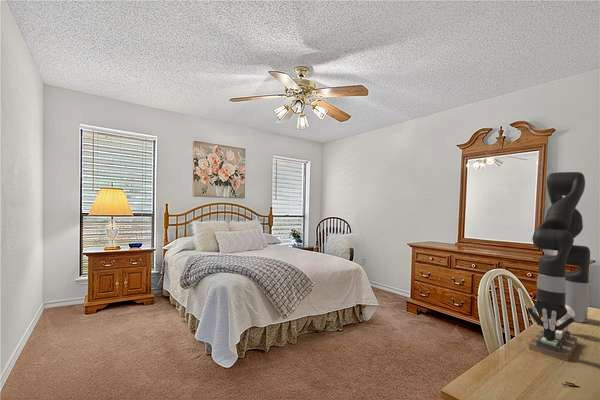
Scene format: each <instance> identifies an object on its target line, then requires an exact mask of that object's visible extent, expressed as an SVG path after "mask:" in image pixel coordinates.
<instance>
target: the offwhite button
mask: <svg viewBox="0 0 600 400" xmlns="http://www.w3.org/2000/svg"><path fill="white" fill-rule="evenodd" d="M562 337H563V331H559V330H556V336H555V338H556V339H560V340H561V338H562Z"/></svg>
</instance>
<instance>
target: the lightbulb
mask: <svg viewBox="0 0 600 400" xmlns="http://www.w3.org/2000/svg"><path fill="white" fill-rule="evenodd" d="M565 307H566V309H567V313H568V314H569V315H571V316H572V317H575V312H574V310H573V309H572V308H571V307H570V306H568V305H565ZM564 321H566V320H565V315H564V316H563V317H562V318H561V319H559V320H557V322H558V324H562V323H563V322H564ZM569 327H570V325H568V326H567V327H566V331H569Z"/></svg>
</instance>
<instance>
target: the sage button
mask: <svg viewBox="0 0 600 400" xmlns="http://www.w3.org/2000/svg"><path fill="white" fill-rule="evenodd" d="M541 342H543V343H546V344H550V345H553V346H556V347H557V346H558V341H557V340H553V341H552V342H551V341H548V340H546V338H544V337H542V339H541Z"/></svg>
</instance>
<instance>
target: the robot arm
mask: <svg viewBox="0 0 600 400" xmlns="http://www.w3.org/2000/svg"><path fill="white" fill-rule="evenodd" d="M585 186H586V178H585V175H584V174H583V172H580V171H565V172H564V171H561V172H552V173H551V172H550V173H549V174H548V175H547V178H546V189H547V193H548V196H549V197H548V198H549V200H550V204H551V205H550V207H549V208H548V209H547V211H546V214H545V218H544V219H543V220H544V221H542V223H541V224H540V225H539V226H538V227H537V228H536V229H535V231H533V234H532V242H533V243H532V244H533V245H534V246H535V247H536V248H537V249H540V250H548V251H557V254H555V255H553V256H551V255H550V256H542V257H541V256H540V257H539V259H538V269H537V272H538V273H537V274H538V275H537V277H536V301H535V303H534V305H533V306H529V307H527V308H526V311H527V312H528V314H529V315H530V316H531V318H532V319H533V320H534V322H535V323H536V324H537V325H538V326H541V327H542V329H544V338H546V340H548V341H551V342H552V341H553V340H555V336H556V330H559V331H561V330H562V329H564V328H565V327H567V326H568V325H569V326H570V325H571V324H572V323H574V322H576V323H582V322H585V323H588V321H589V319H588V317H589V316H588V315H589V283H590V282H589V274H590V273H589V272H590V263H591V262H590V261H591V250H590V248H589V247H588V246H586V245H585V246H584V245H578V244H576V245H575V244H574V242H575V238H576V237H577V236H578V235H580V234H581V232H582V231H583V229H584V224H583V222H584V221H583V216H582V214H581V212H580V211H579V210H578V209H577V205H578V204H579V202H580V200H581V198H582V196H583V194H584V191H585V189H586V187H585ZM563 196H564V197H563ZM567 265H568V266H575V267H578V269H576V270H573V271H566V269H567V268H566V266H567ZM565 305H568V306H570V307H571V308H572V309H573V310H574V312H575V317H572V316H571V315H569V314H568V313H567V309H566V307H565ZM538 313H539V315H540V316H539V315H538ZM564 315H565V320H566V321H564V322H563V323H562V324H560V325H559V326H556V325H557V324H558V323H557V322H558V320H559V319H561V318H562V317H563V316H564ZM541 317H542V318H541ZM569 326H568V327H569Z"/></svg>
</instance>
